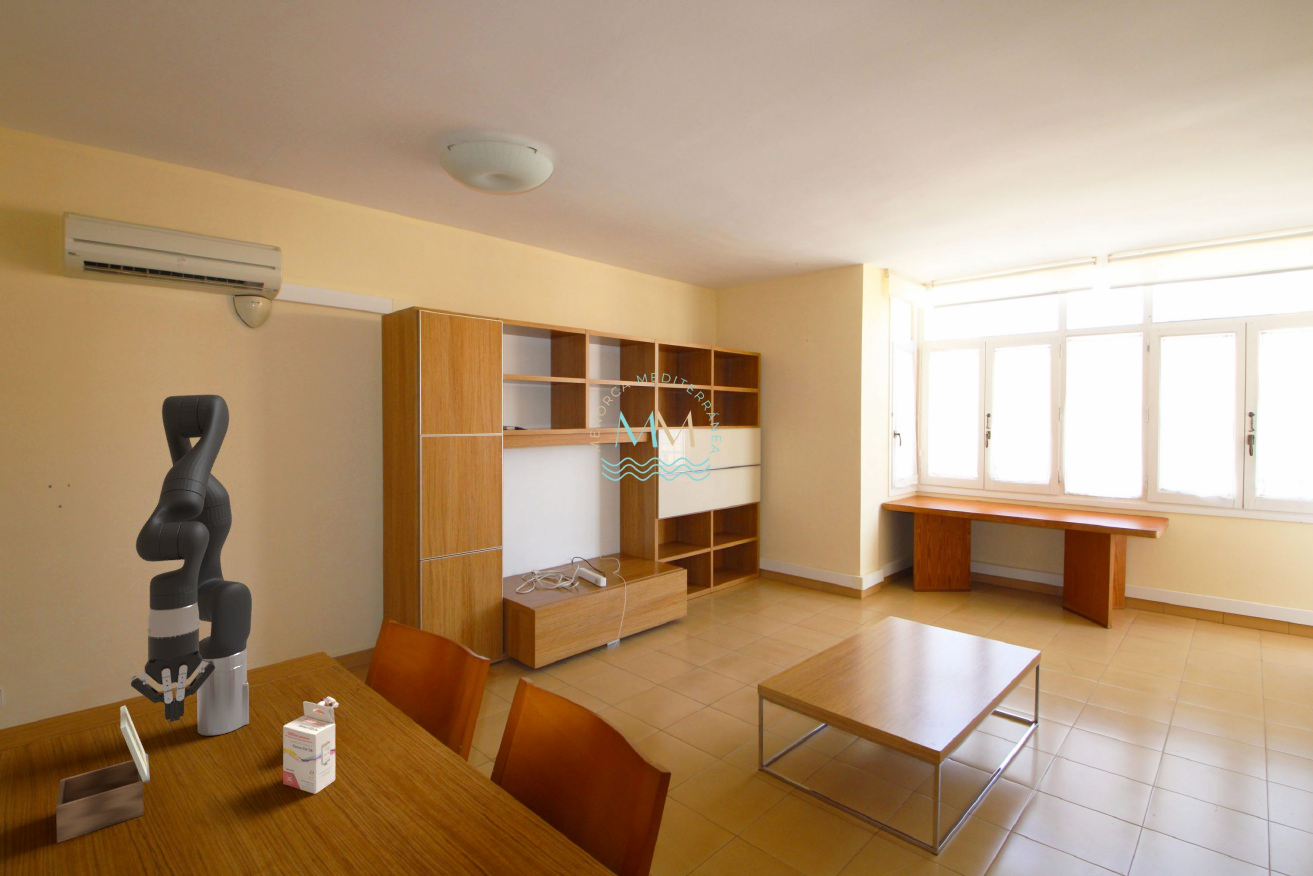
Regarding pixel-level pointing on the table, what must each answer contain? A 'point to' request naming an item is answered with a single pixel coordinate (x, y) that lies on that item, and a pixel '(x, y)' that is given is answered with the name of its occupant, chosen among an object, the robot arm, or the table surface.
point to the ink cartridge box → (310, 749)
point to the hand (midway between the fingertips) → (174, 719)
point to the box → (98, 800)
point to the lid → (134, 745)
